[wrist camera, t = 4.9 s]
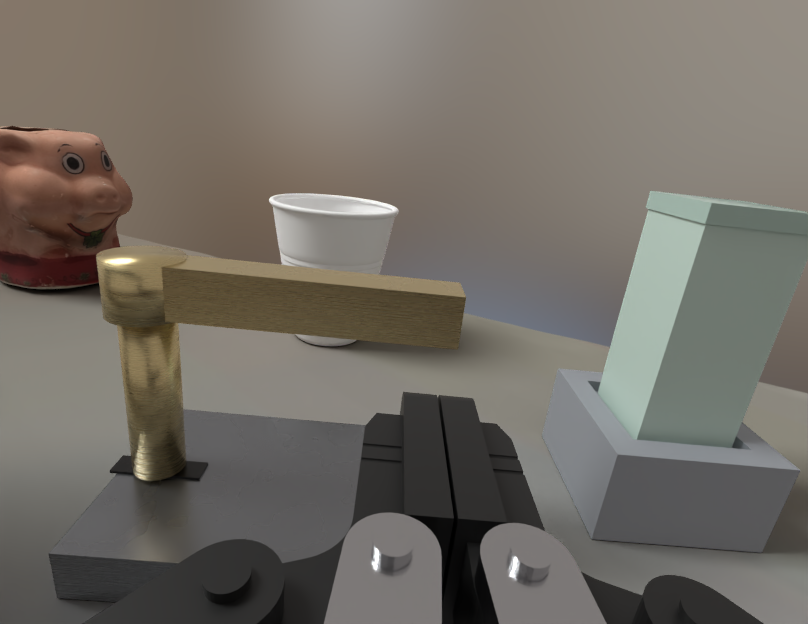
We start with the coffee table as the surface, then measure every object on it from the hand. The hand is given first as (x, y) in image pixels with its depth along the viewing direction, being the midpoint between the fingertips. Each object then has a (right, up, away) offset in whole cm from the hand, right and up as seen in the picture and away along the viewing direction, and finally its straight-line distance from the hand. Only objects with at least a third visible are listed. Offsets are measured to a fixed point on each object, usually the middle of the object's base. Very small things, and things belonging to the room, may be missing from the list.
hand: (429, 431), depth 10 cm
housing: (+12, -7, +15) cm, 20 cm away
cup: (-7, +1, +30) cm, 31 cm away
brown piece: (-6, -4, +10) cm, 12 cm away
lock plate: (-6, -6, +10) cm, 14 cm away
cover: (+12, -3, +14) cm, 19 cm away
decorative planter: (-36, +6, +36) cm, 51 cm away
